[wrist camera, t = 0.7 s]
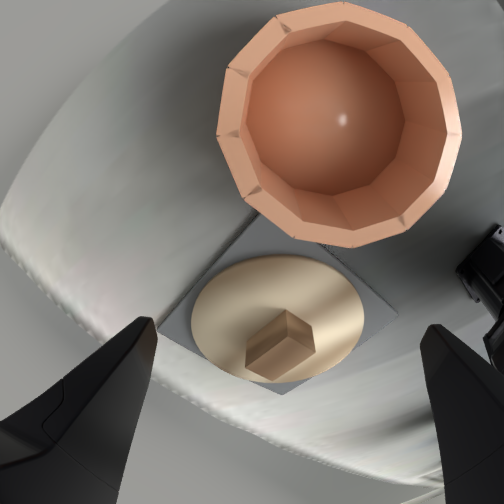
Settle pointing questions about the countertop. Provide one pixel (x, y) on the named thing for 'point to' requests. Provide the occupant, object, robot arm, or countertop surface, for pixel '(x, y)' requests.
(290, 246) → the mat
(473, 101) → the countertop surface
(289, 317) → the lid
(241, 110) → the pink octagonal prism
